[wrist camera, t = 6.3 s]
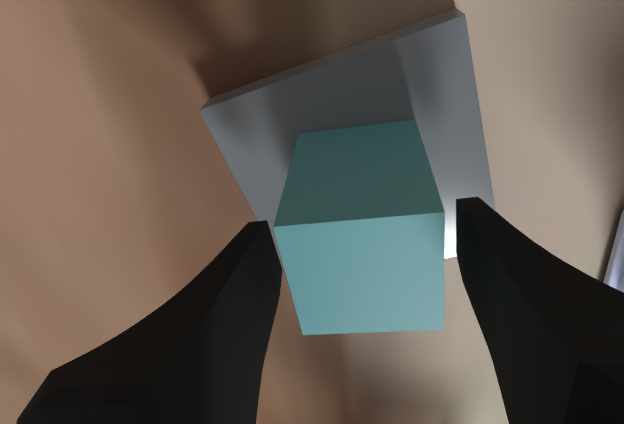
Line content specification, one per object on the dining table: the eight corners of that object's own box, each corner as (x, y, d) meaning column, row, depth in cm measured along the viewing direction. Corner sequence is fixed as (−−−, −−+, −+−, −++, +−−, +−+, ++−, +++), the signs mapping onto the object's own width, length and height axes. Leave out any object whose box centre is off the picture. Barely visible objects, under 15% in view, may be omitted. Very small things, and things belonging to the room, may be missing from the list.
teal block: (415, 118, 14) (445, 212, 9) (418, 215, 16) (442, 329, 11) (298, 133, 14) (272, 227, 10) (317, 224, 16) (302, 334, 12)
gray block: (452, 4, 13) (465, 14, 12) (488, 218, 18) (501, 247, 16) (215, 92, 16) (199, 110, 14) (299, 260, 20) (294, 289, 19)
